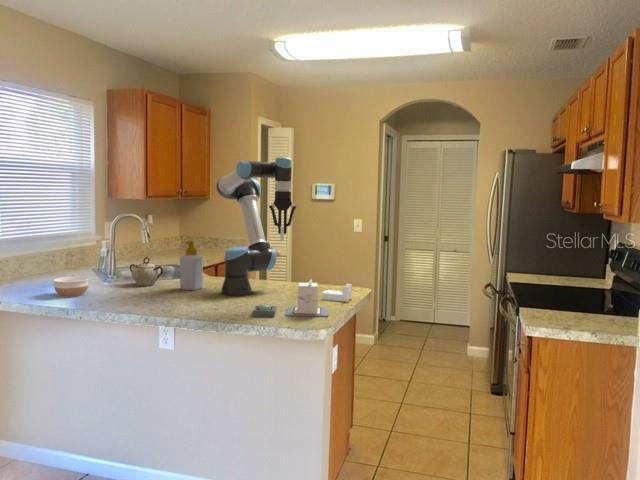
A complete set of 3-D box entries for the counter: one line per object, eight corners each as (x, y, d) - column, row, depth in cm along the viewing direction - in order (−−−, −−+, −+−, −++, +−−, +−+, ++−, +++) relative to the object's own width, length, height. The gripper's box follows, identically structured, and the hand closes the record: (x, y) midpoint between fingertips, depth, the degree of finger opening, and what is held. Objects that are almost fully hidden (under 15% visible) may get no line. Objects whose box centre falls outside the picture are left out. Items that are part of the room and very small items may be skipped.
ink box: (297, 308, 236) (298, 278, 234) (316, 308, 236) (317, 278, 235) (298, 312, 227) (298, 282, 226) (317, 312, 228) (318, 282, 226)
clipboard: (285, 316, 224) (285, 314, 224) (287, 307, 240) (287, 305, 240) (328, 316, 224) (328, 315, 224) (327, 308, 240) (327, 306, 240)
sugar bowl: (169, 283, 294) (169, 256, 292) (155, 288, 279) (155, 259, 278) (137, 281, 298) (137, 254, 296) (122, 286, 283) (121, 258, 282)
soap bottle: (179, 289, 276) (178, 241, 273) (189, 286, 284) (189, 240, 282) (193, 291, 273) (193, 242, 270) (203, 288, 281) (203, 240, 278)
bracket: (351, 299, 260) (351, 284, 259) (347, 302, 253) (347, 286, 253) (326, 297, 265) (326, 282, 264) (321, 299, 258) (321, 284, 257)
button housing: (253, 316, 222) (252, 310, 222) (255, 311, 231) (255, 305, 231) (274, 317, 222) (274, 311, 222) (276, 311, 231) (276, 306, 231)
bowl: (96, 293, 264) (96, 277, 263) (69, 299, 249) (69, 283, 248) (73, 290, 270) (73, 275, 269) (46, 296, 256) (45, 280, 255)
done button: (258, 313, 224) (258, 307, 224) (259, 311, 229) (259, 304, 229) (270, 314, 224) (270, 307, 224) (271, 311, 229) (271, 304, 229)
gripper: (268, 190, 245) (267, 241, 248) (296, 191, 245) (295, 242, 247) (270, 190, 253) (269, 239, 255) (297, 190, 252) (296, 240, 255)
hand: (282, 240), depth 251 cm, fingers closed
